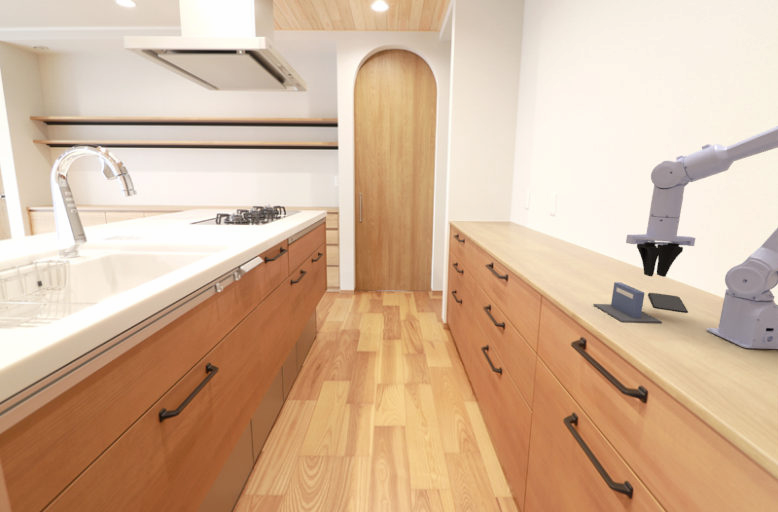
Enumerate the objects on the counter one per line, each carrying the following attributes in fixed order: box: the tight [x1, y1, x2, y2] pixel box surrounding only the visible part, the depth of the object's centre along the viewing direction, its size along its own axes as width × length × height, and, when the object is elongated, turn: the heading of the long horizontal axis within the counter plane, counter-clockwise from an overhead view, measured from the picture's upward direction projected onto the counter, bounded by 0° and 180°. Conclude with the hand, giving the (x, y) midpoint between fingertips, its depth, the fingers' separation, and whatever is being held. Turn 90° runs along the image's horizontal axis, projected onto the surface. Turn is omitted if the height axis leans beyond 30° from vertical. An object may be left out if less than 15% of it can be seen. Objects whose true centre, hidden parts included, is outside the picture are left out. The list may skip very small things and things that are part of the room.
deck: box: [610, 281, 645, 318], centre depth 94 cm, size 9×2×6 cm, turn 1°
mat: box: [593, 303, 663, 324], centre depth 94 cm, size 12×9×1 cm
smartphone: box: [647, 292, 689, 314], centre depth 105 cm, size 7×1×15 cm
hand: (654, 275), depth 93 cm, fingers open, 2 cm apart
